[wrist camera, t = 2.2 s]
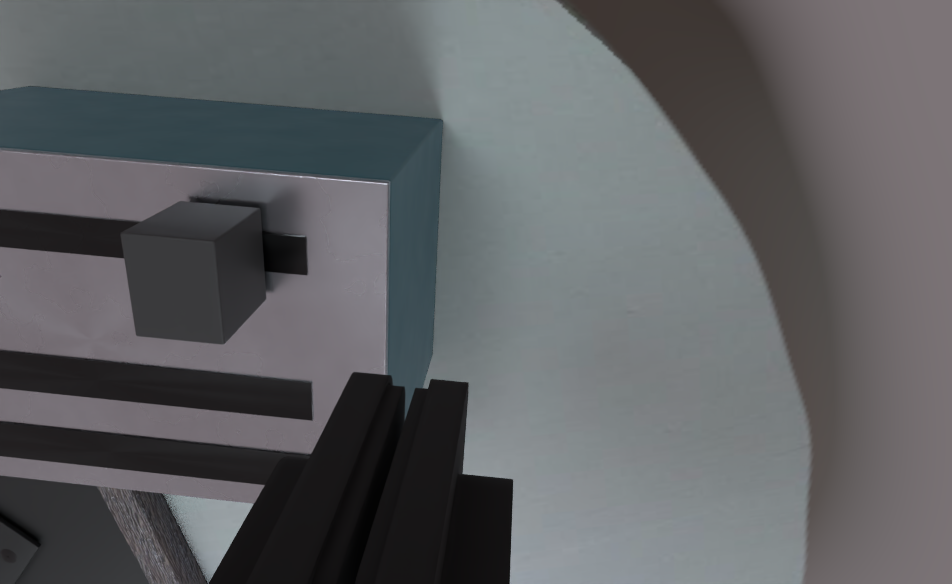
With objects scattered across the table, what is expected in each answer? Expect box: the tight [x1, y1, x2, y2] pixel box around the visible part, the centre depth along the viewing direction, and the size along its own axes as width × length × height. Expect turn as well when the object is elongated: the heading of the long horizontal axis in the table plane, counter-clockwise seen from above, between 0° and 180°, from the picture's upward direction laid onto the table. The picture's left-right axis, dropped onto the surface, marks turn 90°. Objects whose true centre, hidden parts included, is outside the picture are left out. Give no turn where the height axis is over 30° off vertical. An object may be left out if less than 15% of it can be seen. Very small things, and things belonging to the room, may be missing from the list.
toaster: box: [0, 86, 443, 504], centre depth 22 cm, size 10×16×10 cm, turn 86°
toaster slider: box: [121, 201, 266, 345], centre depth 15 cm, size 2×2×2 cm
